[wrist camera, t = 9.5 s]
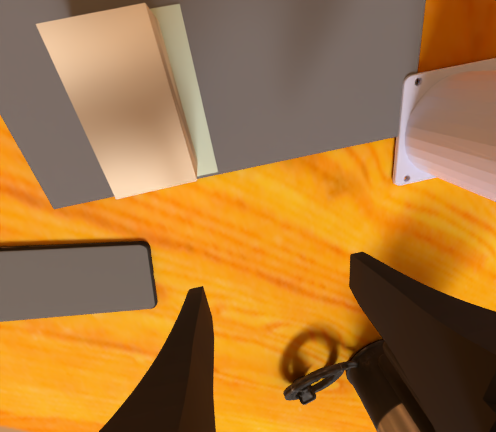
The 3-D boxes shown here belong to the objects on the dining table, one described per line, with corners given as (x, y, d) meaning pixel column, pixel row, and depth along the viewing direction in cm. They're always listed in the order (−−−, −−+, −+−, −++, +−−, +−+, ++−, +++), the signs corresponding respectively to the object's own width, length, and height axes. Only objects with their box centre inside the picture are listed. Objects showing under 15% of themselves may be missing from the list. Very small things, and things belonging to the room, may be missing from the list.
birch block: (197, 161, 19) (197, 180, 15) (132, 176, 18) (116, 199, 15) (158, 20, 15) (145, 2, 11) (75, 36, 15) (35, 24, 11)
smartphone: (157, 309, 24) (-41, 326, 22) (158, 301, 25) (-32, 317, 22) (148, 243, 21) (-84, 254, 18) (150, 236, 22) (-73, 246, 19)
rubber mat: (451, -278, 12) (460, -290, 12) (406, 132, 21) (411, 133, 20) (-173, -203, 11) (-189, -216, 10) (56, 206, 19) (53, 209, 19)
